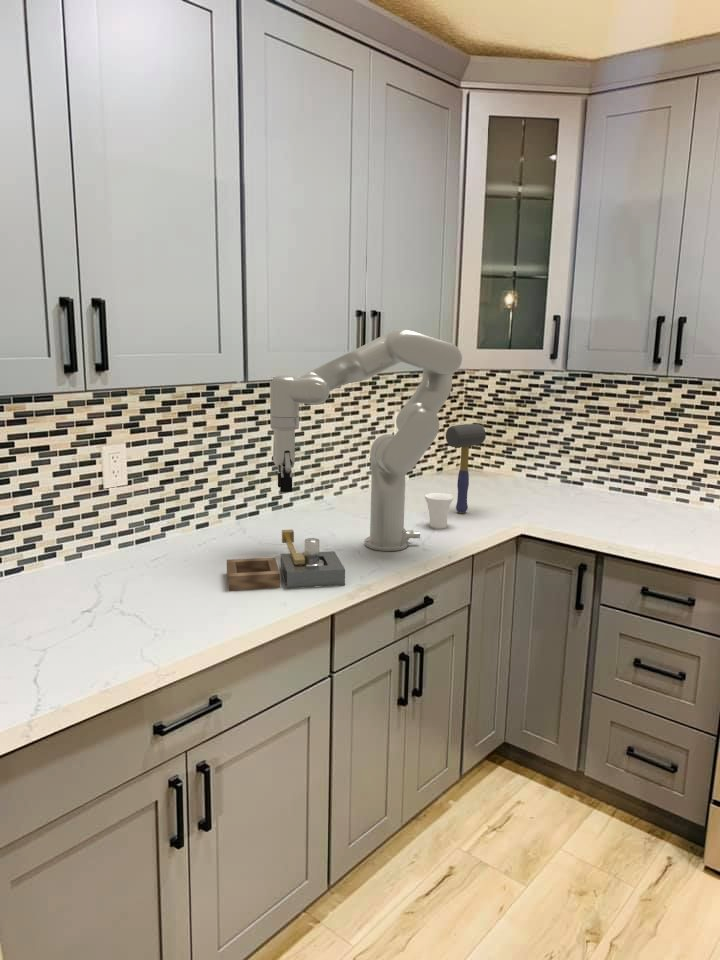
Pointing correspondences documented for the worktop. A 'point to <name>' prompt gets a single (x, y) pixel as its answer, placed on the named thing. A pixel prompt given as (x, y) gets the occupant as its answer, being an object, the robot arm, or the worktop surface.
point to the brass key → (292, 546)
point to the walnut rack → (253, 573)
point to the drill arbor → (312, 553)
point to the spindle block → (313, 571)
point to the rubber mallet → (464, 455)
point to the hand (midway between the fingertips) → (284, 488)
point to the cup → (438, 509)
